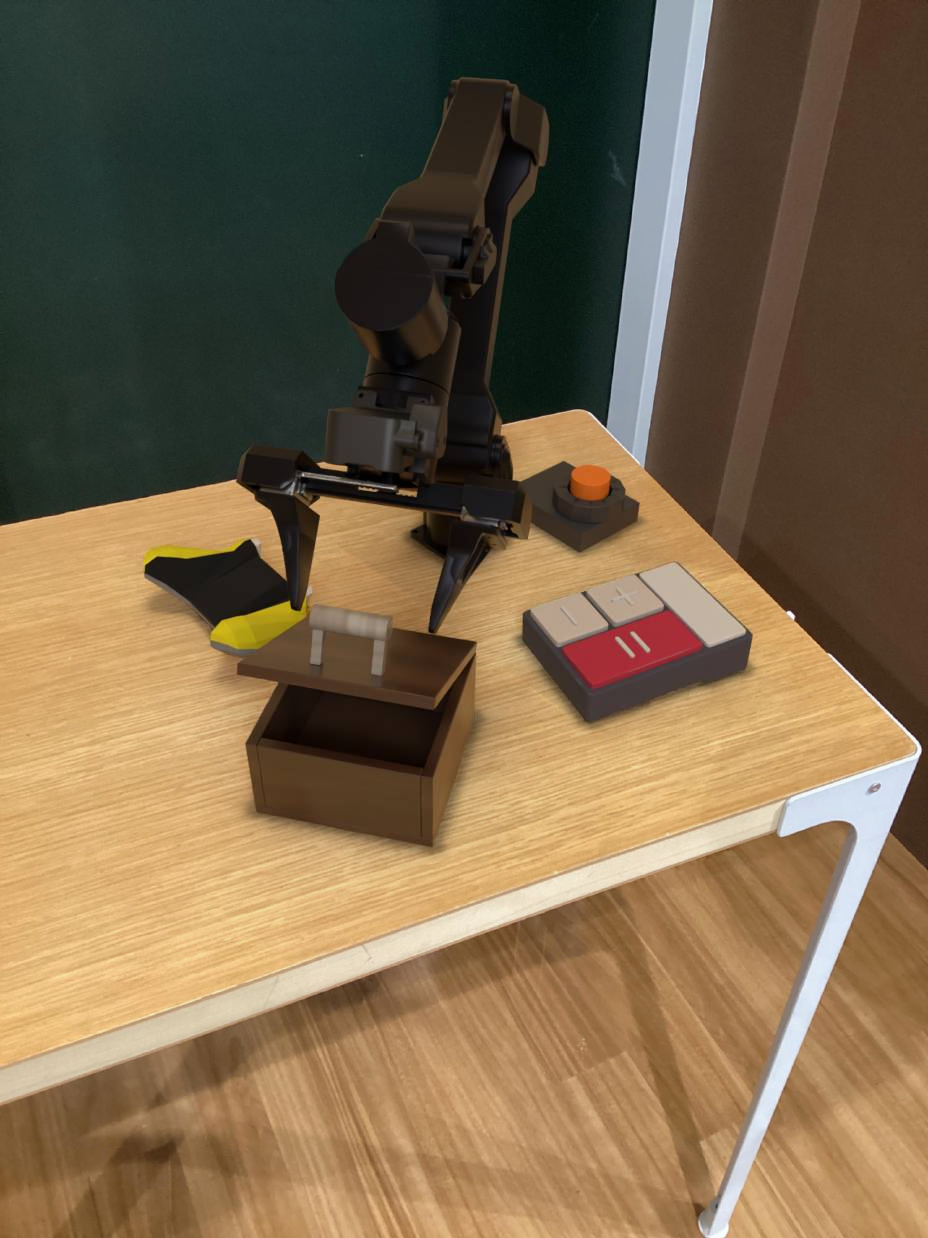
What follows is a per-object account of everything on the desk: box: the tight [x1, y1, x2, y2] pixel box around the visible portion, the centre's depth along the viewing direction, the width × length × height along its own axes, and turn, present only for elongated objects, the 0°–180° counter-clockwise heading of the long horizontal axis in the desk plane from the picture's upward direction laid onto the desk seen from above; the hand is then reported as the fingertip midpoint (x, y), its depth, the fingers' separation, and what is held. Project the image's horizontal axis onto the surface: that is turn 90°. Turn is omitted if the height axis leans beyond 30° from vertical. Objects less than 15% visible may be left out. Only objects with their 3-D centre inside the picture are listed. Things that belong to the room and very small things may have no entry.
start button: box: [570, 464, 611, 501], centre depth 99 cm, size 4×4×2 cm
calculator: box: [521, 561, 754, 723], centre depth 86 cm, size 11×4×15 cm
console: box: [520, 460, 641, 553], centre depth 101 cm, size 10×8×4 cm
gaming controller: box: [142, 537, 313, 658], centre depth 88 cm, size 15×6×10 cm
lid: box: [236, 603, 478, 710], centre depth 71 cm, size 13×13×5 cm
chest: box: [244, 651, 477, 848], centre depth 75 cm, size 13×13×7 cm
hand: (362, 621), depth 69 cm, fingers open, 9 cm apart
